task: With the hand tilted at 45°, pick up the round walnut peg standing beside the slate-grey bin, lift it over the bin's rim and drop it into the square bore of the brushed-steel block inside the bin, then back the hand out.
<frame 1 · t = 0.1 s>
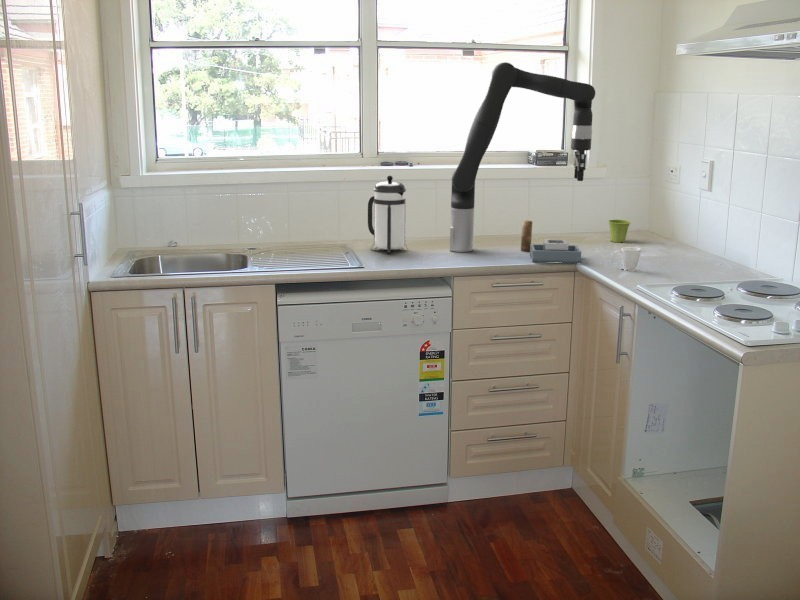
hand: (578, 179, 310), 29 cm above the worktop, tool pointing down, fingers open, 8 cm apart
coffee press: (386, 250, 320), on the worktop
plant pot: (617, 241, 342), on the worktop
peg: (525, 250, 321), on the worktop
cup: (625, 270, 289), on the worktop
bin: (554, 259, 305), on the worktop
bore block: (555, 249, 304), in the bin, point 4 cm above the worktop
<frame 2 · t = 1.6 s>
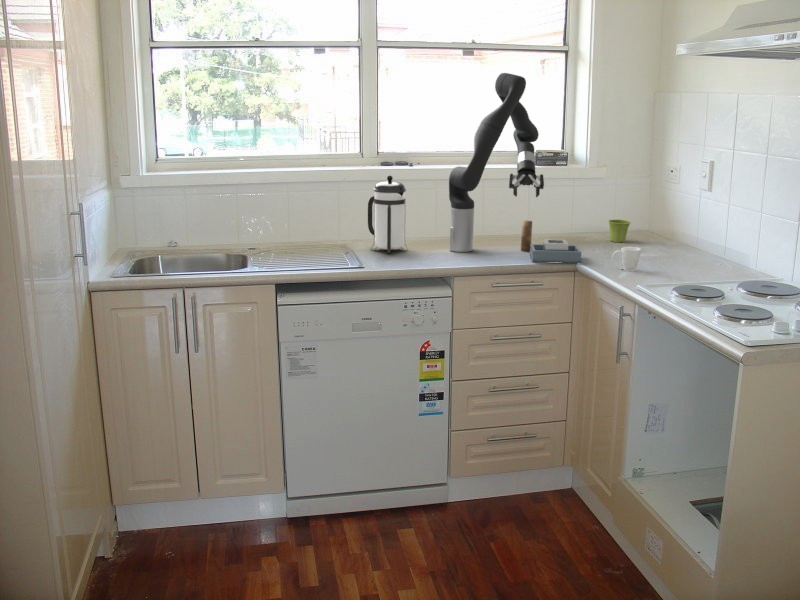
hand: (526, 195, 327), 21 cm above the worktop, tool tilted 45°, fingers open, 8 cm apart
nothing on the worktop moved.
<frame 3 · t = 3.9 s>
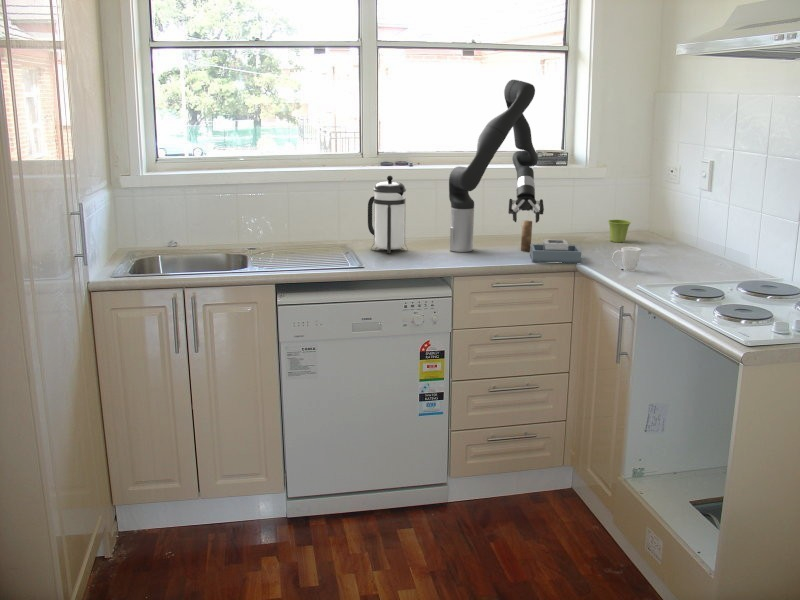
hand: (526, 221, 323), 11 cm above the worktop, tool tilted 45°, fingers open, 8 cm apart
nothing on the worktop moved.
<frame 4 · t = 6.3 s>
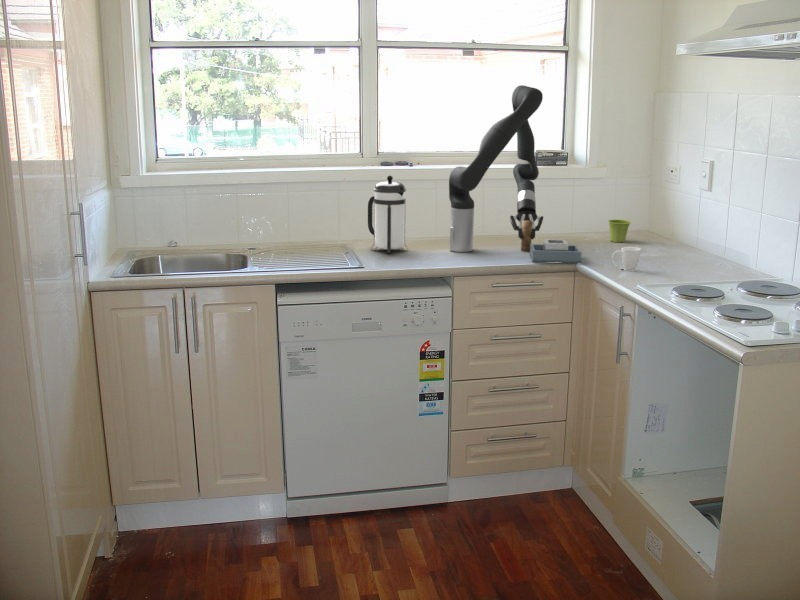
hand: (526, 238, 318), 6 cm above the worktop, tool tilted 45°, fingers closed on peg, 4 cm apart
peg: (525, 250, 321), on the worktop, touching gripper
everything else where it was.
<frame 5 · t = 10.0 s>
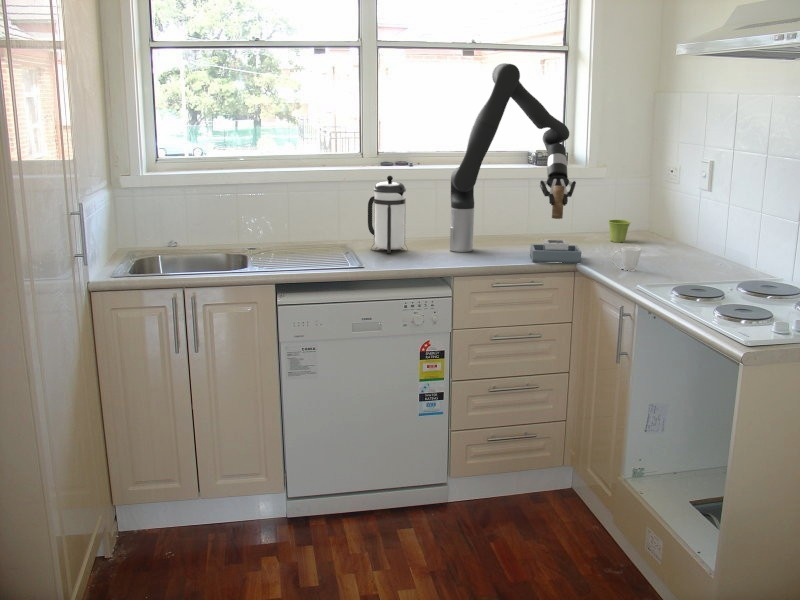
hand: (558, 204, 298), 22 cm above the worktop, tool tilted 45°, fingers closed on peg, 4 cm apart
peg: (557, 217, 301), point 16 cm above the worktop, touching gripper
everything else where it was.
when the fingers open (8 cm above the worktop, at t = 13.7 s): peg drops 2 cm, resting on bin.
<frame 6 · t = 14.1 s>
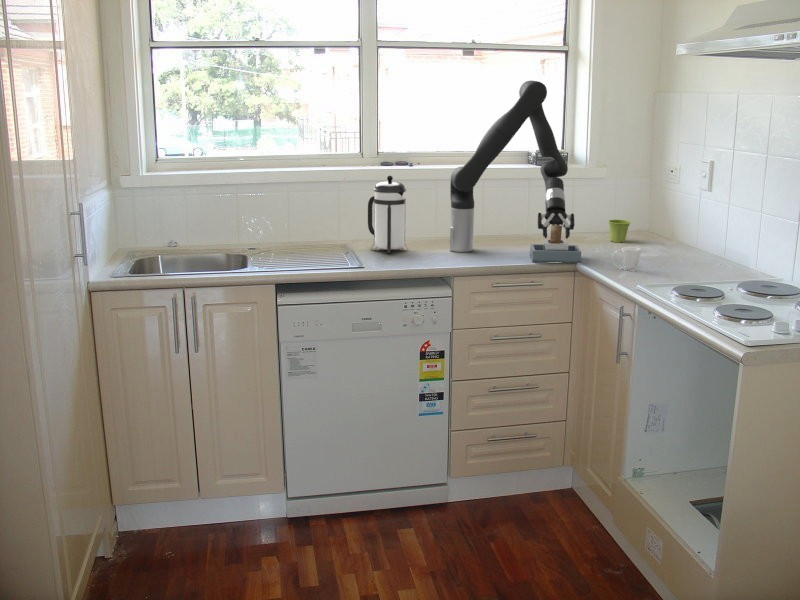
hand: (556, 237, 301), 9 cm above the worktop, tool tilted 45°, fingers open, 7 cm apart
peg: (554, 256, 305), point 1 cm above the worktop, touching bin
everything else where it was.
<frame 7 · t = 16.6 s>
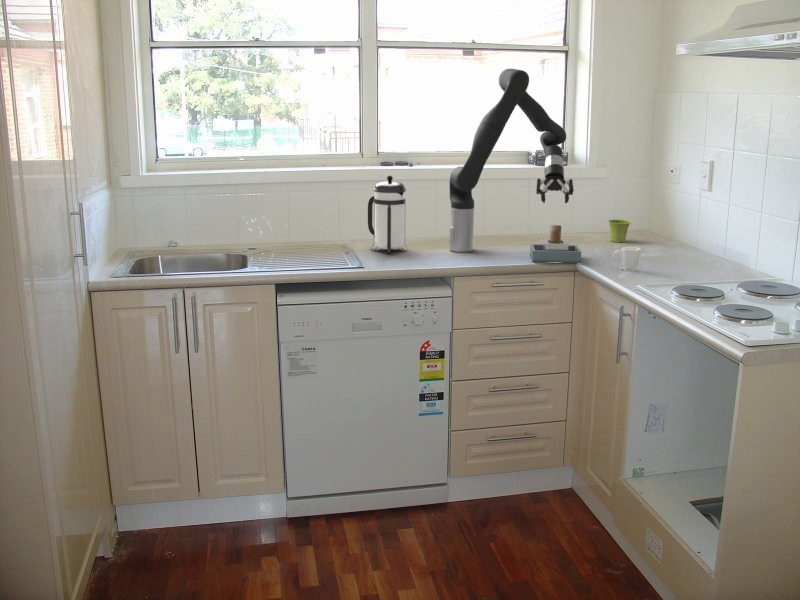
hand: (555, 201, 310), 21 cm above the worktop, tool tilted 45°, fingers open, 8 cm apart
nothing on the worktop moved.
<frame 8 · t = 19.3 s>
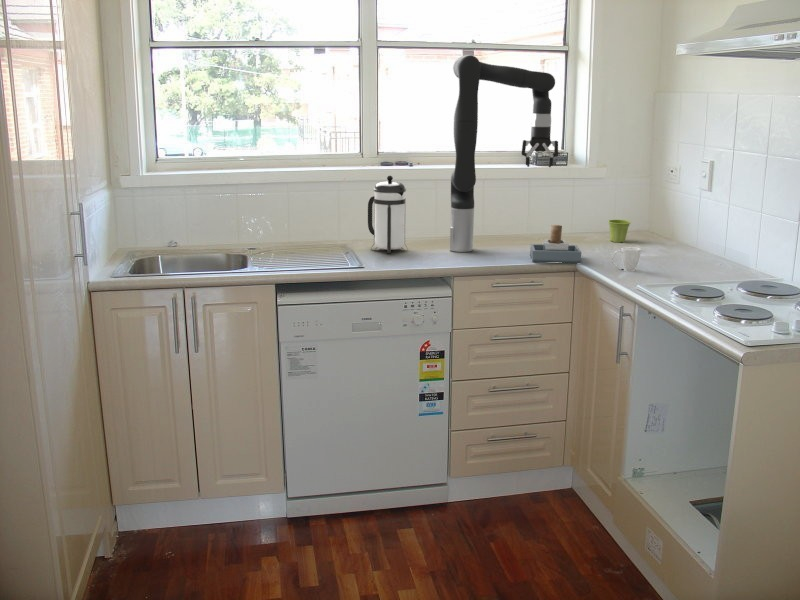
hand: (538, 166, 318), 33 cm above the worktop, tool pointing down, fingers open, 8 cm apart
nothing on the worktop moved.
at the end: peg 0.1 cm off-centre on the bore block, point 1.1 cm above the bore block's base; peg tilted 2°; the gripper is holding nothing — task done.
